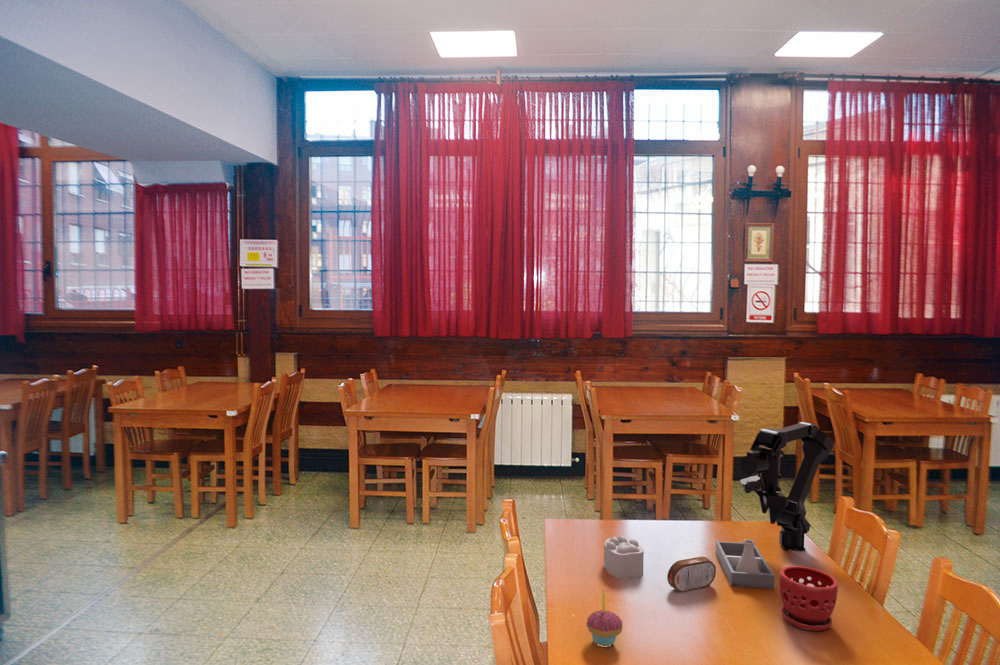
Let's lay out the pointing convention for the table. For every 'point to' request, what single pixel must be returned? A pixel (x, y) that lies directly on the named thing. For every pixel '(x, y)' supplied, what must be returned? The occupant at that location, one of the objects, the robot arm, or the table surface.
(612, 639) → the cupcake
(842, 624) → the table surface
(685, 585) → the tin
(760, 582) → the caddy
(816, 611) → the plant pot
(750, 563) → the flask
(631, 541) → the lumpy-topped squat cylinder
